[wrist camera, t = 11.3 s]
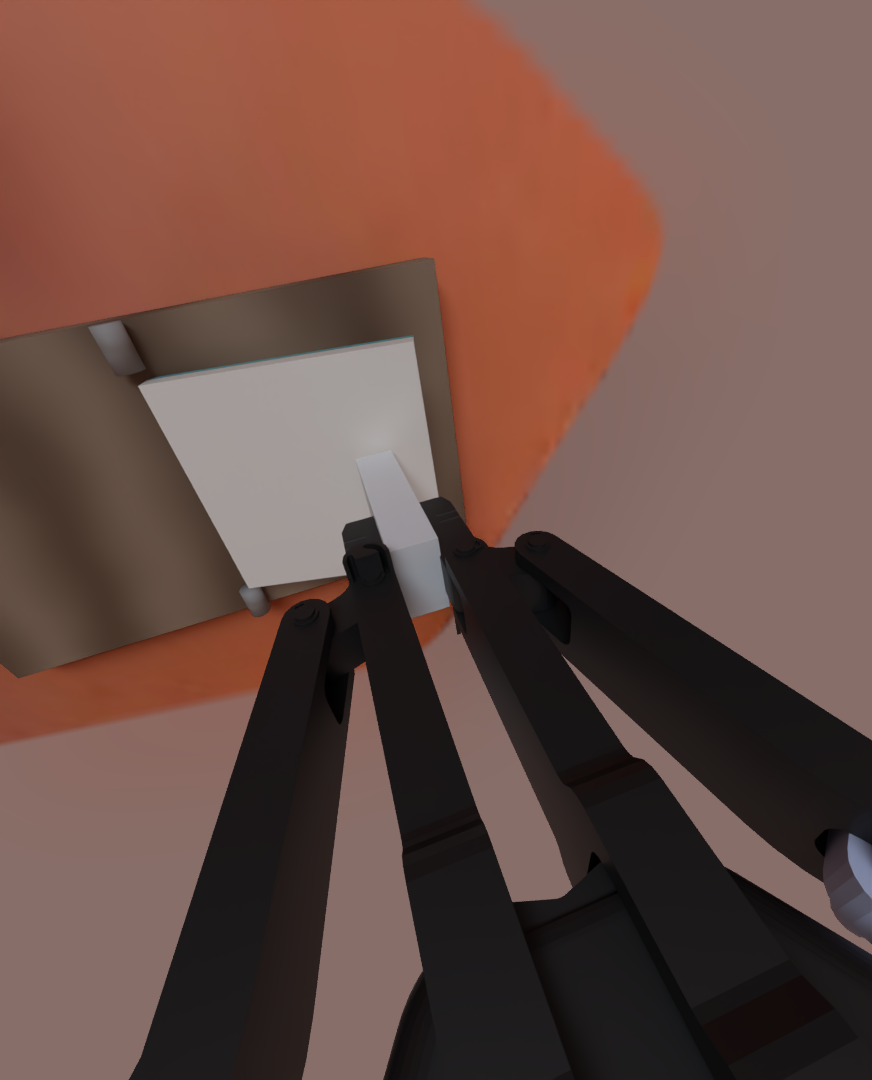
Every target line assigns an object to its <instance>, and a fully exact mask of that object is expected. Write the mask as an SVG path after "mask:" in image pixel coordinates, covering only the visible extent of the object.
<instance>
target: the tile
mask: <svg viewBox="0 0 872 1080" xmlns="http://www.w3.org/2000/svg"><path fill="white" fill-rule="evenodd" d="M138 387H139V389H140V391H141V393H142V395H143V396H144V398H145V400H146V402H147V404H148V405H149V407H150V409H151V411H152V413H153V415H154V416H155V418H156V420H157V422H158V424H159V426H160V427H161V429H162V431H163V433H164V435H165V436H166V438H167V440H168V442H169V444H170V446H171V447H172V449H173V451H174V453H175V455H176V457H177V458H178V460H179V462H180V464H181V466H182V467H183V469H184V471H185V473H186V475H187V477H188V478H189V480H190V482H191V484H192V486H193V487H194V489H195V491H196V493H197V495H198V497H199V498H200V500H201V502H202V504H203V506H204V508H205V509H206V511H207V513H208V515H209V517H210V518H211V520H212V522H213V524H214V526H215V528H216V529H217V531H218V533H219V535H220V537H221V539H222V540H223V542H224V544H225V546H226V548H227V549H228V551H229V553H230V555H231V557H232V559H233V560H234V562H235V564H236V566H237V568H238V570H239V571H240V573H241V575H242V577H243V579H244V580H245V582H246V584H247V586H248V588H255V587H263V586H270V585H277V584H285V583H292V582H300V581H307V580H314V579H322V578H329V577H336V576H344V575H346V572H345V569H344V566H343V563H342V561H343V556H344V555H345V554H346V552H345V548H344V543H343V538H342V531H343V529H344V527H345V524H347V523H350V522H354V521H358V520H361V519H365V518H368V517H371V514H370V511H369V507H368V503H367V500H366V496H365V493H364V489H363V485H362V482H361V478H360V474H359V471H358V467H357V464H356V460H355V459H358V458H362V457H365V456H369V455H373V454H377V453H381V452H385V451H389V450H391V451H392V452H393V454H394V456H395V458H396V460H397V462H398V464H399V466H400V467H401V469H402V471H403V473H404V475H405V477H406V479H407V481H408V483H409V484H410V486H411V488H412V490H413V492H414V494H415V496H416V498H417V499H418V501H419V502H423V501H426V500H430V499H433V498H437V497H439V492H438V486H437V480H436V473H435V467H434V461H433V454H432V448H431V442H430V436H429V429H428V423H427V417H426V410H425V404H424V398H423V392H422V385H421V379H420V373H419V367H418V360H417V354H416V348H415V341H414V335H410V336H404V337H398V338H392V339H386V340H379V341H373V342H367V343H361V344H355V345H349V346H343V347H337V348H330V349H324V350H318V351H312V352H306V353H300V354H294V355H287V356H281V357H275V358H269V359H263V360H257V361H251V362H245V363H238V364H232V365H226V366H220V367H214V368H208V369H202V370H196V371H189V372H183V373H177V374H171V375H165V376H159V377H153V378H150V379H148V380H147V381H145V382H144V383H142V384H140V385H139V386H138Z"/></svg>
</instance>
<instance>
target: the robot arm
mask: <svg viewBox="0 0 872 1080" xmlns="http://www.w3.org/2000/svg"><path fill="white" fill-rule="evenodd" d="M355 460H356V464H357V467H358V471H359V474H360V478H361V482H362V485H363V489H364V493H365V496H366V500H367V503H368V507H369V511H370V514H371V517H368V518H365V519H361V520H358V521H354V522H350V523H347V524H345V527H344V529H343V531H342V538H343V543H344V548H345V552H346V554H345V555H344V556H343V561H342V563H343V566H344V569H345V572H346V575H347V578H348V580H349V583H350V584H349V586H348V588H347V589H346V591H345V592H344V593H343V594H342V595H340V596H339V597H337V598H336V599H334V600H333V601H331V602H329V603H326V602H325V601H322V600H320V599H308V600H305V601H301V602H299V603H297V604H296V605H294V606H292V607H291V608H290V609H289V610H288V611H287V612H286V613H285V614H284V616H283V618H282V620H281V623H280V626H279V629H278V632H277V635H276V638H275V641H274V645H273V648H272V651H271V654H270V657H269V660H268V663H267V666H266V670H265V673H264V676H263V679H262V682H261V685H260V688H259V691H258V694H257V698H256V701H255V704H254V707H253V710H252V713H251V716H250V719H249V722H248V726H247V729H246V732H245V735H244V738H243V742H242V744H241V747H240V750H239V754H238V757H237V760H236V763H235V766H234V769H233V772H232V775H231V778H230V782H229V785H228V788H227V791H226V794H225V797H224V800H223V804H222V806H221V810H220V813H219V816H218V819H217V822H216V825H215V828H214V831H213V835H212V838H211V841H210V844H209V847H208V850H207V853H206V856H205V859H204V863H203V866H202V869H201V872H200V875H199V878H198V881H197V885H196V888H195V891H194V894H193V897H192V900H191V903H190V906H189V909H188V913H187V916H186V919H185V922H184V925H183V928H182V931H181V934H180V937H179V941H178V944H177V947H176V950H175V953H174V956H173V959H172V962H171V965H170V968H169V971H168V975H167V978H166V981H165V984H164V987H163V990H162V993H161V996H160V999H159V1003H158V1006H157V1009H156V1012H155V1015H154V1018H153V1021H152V1024H151V1028H150V1031H149V1034H148V1037H147V1040H146V1043H145V1046H144V1049H143V1052H142V1055H141V1058H140V1060H139V1062H138V1064H137V1065H136V1067H135V1069H134V1071H133V1073H132V1075H131V1077H130V1079H129V1080H302V1076H303V1071H304V1067H305V1063H306V1058H307V1051H308V1045H309V1039H310V1032H311V1026H312V1019H313V1013H314V1005H315V997H316V988H317V980H318V971H319V964H320V955H321V947H322V939H323V931H324V922H325V914H326V905H327V898H328V889H329V881H330V872H331V864H332V856H333V848H334V840H335V832H336V823H337V815H338V807H339V799H340V790H341V782H342V773H343V765H344V757H345V749H346V741H347V732H348V724H349V716H350V708H351V699H352V690H353V682H354V675H355V673H354V668H356V667H357V666H359V665H361V664H362V663H364V662H365V661H366V666H367V671H368V676H369V681H370V686H371V691H372V696H373V701H374V706H375V711H376V715H377V721H378V726H379V731H380V735H381V740H382V745H383V750H384V755H385V760H386V765H387V770H388V775H389V780H390V785H391V790H392V795H393V800H394V804H395V810H396V815H397V820H398V824H399V829H400V834H401V840H402V846H403V853H402V860H403V868H404V874H405V880H406V885H407V890H408V895H409V900H410V906H411V911H412V916H413V921H414V926H415V931H416V936H417V941H418V946H419V952H420V957H421V962H422V967H423V972H422V973H421V975H420V976H419V978H418V980H417V982H416V983H415V985H414V987H413V990H412V991H411V993H410V995H409V998H408V1000H407V1003H406V1006H405V1008H404V1011H403V1013H402V1016H401V1019H400V1022H399V1026H398V1029H397V1033H396V1036H395V1040H394V1043H393V1047H392V1051H391V1054H390V1058H389V1061H388V1065H387V1069H386V1072H385V1076H384V1079H383V1080H872V955H871V954H869V953H868V952H866V951H865V950H863V949H861V948H859V947H858V946H856V945H855V944H853V943H851V942H850V941H848V940H846V939H845V938H843V937H841V936H840V935H838V934H836V933H835V932H833V931H831V930H830V929H828V928H826V927H825V926H823V925H822V924H820V923H818V922H816V921H815V920H813V919H811V918H810V917H808V916H806V915H805V914H803V913H802V912H800V911H798V910H797V909H795V908H793V907H792V906H790V905H788V904H787V903H785V902H783V901H782V900H780V899H778V898H776V897H775V896H773V895H772V894H770V893H768V892H767V891H765V890H763V889H762V888H760V887H758V886H757V885H755V884H753V883H752V882H750V881H748V880H747V879H745V878H743V877H742V876H740V875H738V874H737V873H735V872H733V871H732V870H730V869H728V868H726V867H724V866H723V865H722V863H721V862H720V860H719V859H718V858H717V856H716V855H715V854H714V852H713V850H712V849H711V848H710V846H709V845H708V844H707V842H706V841H705V839H704V838H703V837H702V835H701V834H700V832H699V831H698V829H697V828H696V827H695V825H694V824H693V822H692V821H691V820H690V818H689V817H688V815H687V814H686V813H685V811H684V809H683V808H682V807H681V805H680V804H679V802H678V801H677V800H676V798H675V797H674V796H673V794H672V793H671V791H670V790H669V788H668V787H667V786H666V784H665V783H664V781H663V780H662V779H661V777H660V776H659V775H658V773H657V772H656V771H655V770H654V769H653V767H652V766H650V765H649V764H648V763H647V762H646V761H645V760H643V759H639V758H635V757H633V756H632V755H630V754H629V753H628V752H627V750H626V749H625V748H624V747H623V745H622V744H621V743H620V741H619V739H618V738H617V736H616V735H615V733H614V732H613V730H612V729H611V727H610V726H609V724H608V723H607V721H606V720H605V718H604V717H603V715H602V714H601V713H600V712H599V710H598V708H597V707H596V705H595V704H594V702H593V701H592V699H591V698H590V696H589V695H588V693H587V692H586V690H585V689H584V687H583V686H582V684H581V683H580V681H579V680H578V679H577V677H576V676H575V674H574V673H573V671H572V670H571V668H570V667H569V665H568V664H567V662H566V661H565V659H564V658H563V656H564V657H565V658H566V659H567V660H568V661H569V662H570V663H572V664H573V665H574V666H575V667H576V668H577V669H578V670H579V671H580V672H581V673H582V674H584V675H585V676H586V677H587V678H588V679H589V680H590V681H591V682H592V683H593V684H595V686H597V687H598V688H599V689H600V690H601V691H602V692H603V693H604V694H605V695H606V696H607V697H608V698H610V699H611V700H612V701H613V702H614V703H615V704H616V705H617V706H618V707H619V708H620V709H621V710H623V711H624V712H625V713H626V714H627V715H628V716H629V717H630V718H631V719H632V720H633V721H635V722H636V723H637V724H638V725H639V726H640V727H641V728H642V729H643V730H644V731H645V732H647V733H648V734H649V735H650V736H651V737H652V738H653V739H654V740H655V741H656V742H657V743H658V744H660V745H661V746H662V747H663V748H664V749H665V750H666V751H667V752H668V753H669V754H670V755H672V757H674V758H675V759H676V760H677V761H678V762H679V763H680V764H681V765H682V766H683V767H685V768H686V769H687V770H688V771H689V772H690V773H691V774H692V775H693V776H694V777H695V778H696V779H697V780H699V781H700V782H701V783H702V784H703V785H704V786H705V787H706V788H707V789H708V790H710V792H712V793H713V794H714V795H715V796H716V797H717V798H718V799H719V800H720V801H721V802H722V803H724V804H725V805H726V806H727V807H728V808H729V809H730V810H731V811H732V812H733V813H734V814H736V815H737V816H738V817H739V818H740V819H741V820H742V821H743V822H744V823H745V824H746V825H748V826H749V827H750V828H751V829H752V830H753V831H755V832H756V833H757V834H758V835H759V836H760V837H762V838H763V839H764V840H765V841H766V842H767V843H769V844H770V845H771V846H772V847H773V848H775V849H776V850H777V851H779V852H780V853H782V854H783V855H784V856H786V857H787V858H788V859H790V860H791V861H792V862H794V863H795V864H796V865H798V866H799V867H800V868H802V869H803V870H805V871H806V872H808V873H809V874H811V875H812V876H814V877H815V878H817V879H819V880H820V881H822V882H823V883H824V885H825V888H826V891H827V893H828V896H829V898H830V903H831V909H832V911H833V912H834V914H835V916H836V918H837V919H838V920H839V922H840V923H841V924H842V925H843V926H844V927H845V928H846V929H847V930H849V931H850V932H852V933H854V934H855V935H857V936H859V937H863V938H865V939H867V940H868V941H869V942H870V943H871V944H872V740H870V739H869V738H867V737H865V736H864V735H862V734H861V733H859V732H858V731H856V730H855V729H853V728H852V727H850V726H848V725H847V724H846V723H844V722H842V721H841V720H839V719H838V718H836V717H834V716H833V715H831V714H830V713H829V712H827V711H825V710H824V709H822V708H821V707H819V706H818V705H816V704H815V703H813V702H812V701H810V700H808V699H807V698H805V697H804V696H802V695H801V694H799V693H798V692H796V691H795V690H793V689H791V688H790V687H788V686H787V685H785V684H784V683H782V682H781V681H779V680H778V679H776V678H774V677H773V676H771V675H770V674H768V673H767V672H765V671H764V670H762V669H761V668H759V667H758V666H756V665H754V664H753V663H751V662H750V661H748V660H747V659H745V658H744V657H742V656H741V655H739V654H737V653H736V652H734V651H733V650H731V649H730V648H728V647H727V646H725V645H724V644H722V643H720V642H719V641H717V640H716V639H714V638H713V637H711V636H709V635H708V634H706V633H705V632H703V631H702V630H700V629H699V628H697V627H696V626H694V625H692V624H691V623H690V622H688V621H686V620H685V619H683V618H682V617H680V616H679V615H677V614H676V613H674V612H673V611H671V610H669V609H668V608H666V607H665V606H663V605H662V604H660V603H659V602H657V601H656V600H654V599H652V598H651V597H649V596H648V595H646V594H645V593H643V592H642V591H640V590H639V589H637V588H636V587H634V586H632V585H631V584H629V583H628V582H626V581H625V580H623V579H621V578H620V577H619V576H617V575H615V574H614V573H612V572H611V571H609V570H608V569H606V568H604V567H603V566H602V565H600V564H598V563H597V562H595V561H594V560H592V559H591V558H589V557H588V556H586V555H584V554H583V553H581V552H580V551H578V550H577V549H575V548H574V547H572V546H571V545H569V544H567V543H566V542H564V541H563V540H561V539H560V538H558V537H557V536H555V535H553V534H551V533H548V532H543V531H533V532H528V533H525V534H522V535H521V536H520V537H518V538H517V540H516V542H515V547H506V548H493V547H488V545H487V544H486V543H485V542H484V541H483V540H481V539H478V538H476V537H474V536H473V535H472V533H471V532H470V530H469V529H468V527H467V526H466V524H465V523H464V521H463V520H462V518H461V517H460V515H459V513H458V512H457V511H456V509H455V507H454V506H453V504H452V503H451V502H450V501H449V500H447V499H445V498H443V497H437V498H433V499H430V500H426V501H423V502H419V501H418V499H417V498H416V496H415V494H414V492H413V490H412V488H411V486H410V484H409V483H408V481H407V479H406V477H405V475H404V473H403V471H402V469H401V467H400V466H399V464H398V462H397V460H396V458H395V456H394V454H393V452H392V451H391V450H389V451H385V452H381V453H377V454H373V455H369V456H365V457H362V458H358V459H355ZM448 597H449V599H450V601H451V604H452V606H453V610H454V617H455V623H456V629H457V634H461V633H462V635H463V637H464V639H465V641H466V643H467V646H468V648H469V650H470V652H471V655H472V657H473V659H474V661H475V663H476V665H477V668H478V670H479V672H480V674H481V676H482V679H483V681H484V683H485V685H486V687H487V689H488V692H489V694H490V696H491V698H492V700H493V703H494V705H495V707H496V709H497V711H498V714H499V716H500V718H501V720H502V722H503V724H504V726H505V729H506V731H507V733H508V735H509V737H510V740H511V742H512V744H513V746H514V748H515V751H516V753H517V755H518V757H519V759H520V761H521V764H522V766H523V768H524V770H525V772H526V775H527V777H528V779H529V781H530V783H531V785H532V788H533V790H534V792H535V794H536V796H537V799H538V801H539V803H540V805H541V807H542V810H543V811H544V814H545V816H546V818H547V821H548V822H549V825H550V827H551V829H552V831H553V834H554V836H555V838H556V841H557V844H558V846H559V850H560V853H561V857H562V860H563V864H564V866H565V869H566V872H567V875H568V877H569V880H570V882H571V885H572V887H573V888H572V889H571V890H570V891H569V892H568V893H567V894H566V895H565V896H563V897H561V898H558V899H550V900H537V901H524V902H512V900H511V897H510V895H509V892H508V889H507V886H506V883H505V880H504V877H503V875H502V872H501V869H500V866H499V863H498V861H497V858H496V855H495V852H494V849H493V846H492V843H491V841H490V838H489V835H488V832H487V830H486V828H485V825H484V823H483V821H482V819H481V817H480V815H479V813H478V810H477V807H476V804H475V801H474V798H473V796H472V793H471V790H470V787H469V784H468V781H467V778H466V775H465V772H464V770H463V767H462V764H461V761H460V758H459V755H458V752H457V749H456V747H455V744H454V741H453V738H452V735H451V732H450V729H449V726H448V723H447V721H446V718H445V715H444V712H443V709H442V706H441V703H440V700H439V698H438V695H437V692H436V689H435V686H434V683H433V680H432V677H431V674H430V672H429V669H428V666H427V663H426V660H425V657H424V654H423V651H422V649H421V646H420V643H419V640H418V637H417V634H416V631H415V628H414V625H413V623H412V620H411V618H415V617H418V616H421V615H424V614H427V613H431V612H434V611H437V610H440V609H443V608H446V607H449V606H450V605H449V599H448ZM561 654H562V655H563V656H562V655H561Z"/></svg>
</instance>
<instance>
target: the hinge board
mask: <svg viewBox="0 0 872 1080" xmlns="http://www.w3.org/2000/svg"><path fill="white" fill-rule="evenodd" d="M410 335H414V341H415V348H416V354H417V360H418V367H419V373H420V379H421V385H422V392H423V398H424V404H425V410H426V417H427V423H428V429H429V436H430V442H431V448H432V454H433V461H434V467H435V473H436V480H437V486H438V492H439V497H443V498H445V499H447V500H449V501H450V502H451V503H452V504H453V506H454V507H455V509H456V511H457V512H458V513H459V515H460V517H461V518H462V520H463V521H464V523H465V524H466V519H465V510H464V502H463V494H462V485H461V477H460V469H459V461H458V452H457V444H456V436H455V428H454V419H453V411H452V403H451V395H450V386H449V378H448V370H447V362H446V353H445V345H444V337H443V328H442V320H441V312H440V304H439V295H438V287H437V279H436V271H435V262H434V259H433V258H419V259H414V260H409V261H403V262H398V263H393V264H388V265H383V266H378V267H372V268H367V269H362V270H357V271H352V272H346V273H341V274H336V275H331V276H326V277H320V278H315V279H310V280H305V281H300V282H294V283H289V284H284V285H279V286H274V287H269V288H263V289H258V290H253V291H248V292H243V293H237V294H232V295H227V296H222V297H217V298H211V299H206V300H201V301H196V302H191V303H186V304H180V305H175V306H170V307H165V308H160V309H154V310H149V311H144V312H139V313H134V314H128V315H123V316H118V317H113V318H108V319H102V320H97V321H92V322H87V323H82V324H77V325H71V326H66V327H61V328H56V329H51V330H45V331H40V332H35V333H30V334H25V335H19V336H14V337H9V338H4V339H0V663H1V664H2V665H3V666H4V667H5V668H7V669H8V670H9V671H10V672H11V673H13V674H14V675H15V676H16V677H17V678H21V677H24V676H27V675H31V674H34V673H37V672H40V671H44V670H47V669H50V668H53V667H57V666H60V665H63V664H67V663H70V662H73V661H76V660H80V659H83V658H86V657H89V656H93V655H96V654H99V653H102V652H106V651H109V650H112V649H115V648H119V647H122V646H125V645H128V644H132V643H135V642H138V641H142V640H145V639H148V638H151V637H155V636H158V635H161V634H164V633H168V632H171V631H174V630H177V629H181V628H184V627H187V626H190V625H194V624H197V623H200V622H203V621H207V620H210V619H213V618H217V617H220V616H223V615H226V614H230V613H233V612H236V611H239V610H243V609H246V608H249V610H250V612H251V614H252V615H253V616H254V617H260V616H263V615H265V614H266V613H268V612H269V610H270V608H271V606H270V604H269V601H272V600H275V599H278V598H282V597H285V596H288V595H292V594H295V593H298V592H301V591H305V590H308V589H311V588H314V587H318V586H321V585H324V584H327V583H331V582H334V581H337V580H340V579H344V578H347V575H344V576H336V577H329V578H322V579H314V580H307V581H300V582H292V583H285V584H277V585H270V586H263V587H255V588H248V586H247V584H246V582H245V580H244V579H243V577H242V575H241V573H240V571H239V570H238V568H237V566H236V564H235V562H234V560H233V559H232V557H231V555H230V553H229V551H228V549H227V548H226V546H225V544H224V542H223V540H222V539H221V537H220V535H219V533H218V531H217V529H216V528H215V526H214V524H213V522H212V520H211V518H210V517H209V515H208V513H207V511H206V509H205V508H204V506H203V504H202V502H201V500H200V498H199V497H198V495H197V493H196V491H195V489H194V487H193V486H192V484H191V482H190V480H189V478H188V477H187V475H186V473H185V471H184V469H183V467H182V466H181V464H180V462H179V460H178V458H177V457H176V455H175V453H174V451H173V449H172V447H171V446H170V444H169V442H168V440H167V438H166V436H165V435H164V433H163V431H162V429H161V427H160V426H159V424H158V422H157V420H156V418H155V416H154V415H153V413H152V411H151V409H150V407H149V405H148V404H147V402H146V400H145V398H144V396H143V395H142V393H141V391H140V389H139V387H138V386H139V385H140V384H142V383H144V382H145V381H147V380H148V379H150V378H153V377H159V376H165V375H171V374H177V373H183V372H189V371H196V370H202V369H208V368H214V367H220V366H226V365H232V364H238V363H245V362H251V361H257V360H263V359H269V358H275V357H281V356H287V355H294V354H300V353H306V352H312V351H318V350H324V349H330V348H337V347H343V346H349V345H355V344H361V343H367V342H373V341H379V340H386V339H392V338H398V337H404V336H410Z"/></svg>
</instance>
